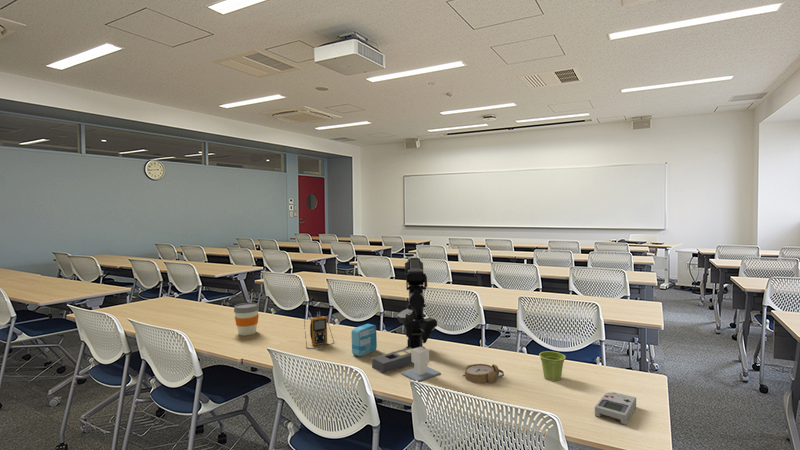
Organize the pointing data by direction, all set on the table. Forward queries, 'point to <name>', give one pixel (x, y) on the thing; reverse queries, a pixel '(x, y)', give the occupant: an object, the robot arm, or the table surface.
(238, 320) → the reusable coffee cup
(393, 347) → the table surface
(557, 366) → the plant pot
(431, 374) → the mat
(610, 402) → the handheld gaming device
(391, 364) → the block
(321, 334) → the multimeter
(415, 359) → the plug
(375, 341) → the data package
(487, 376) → the alarm clock
